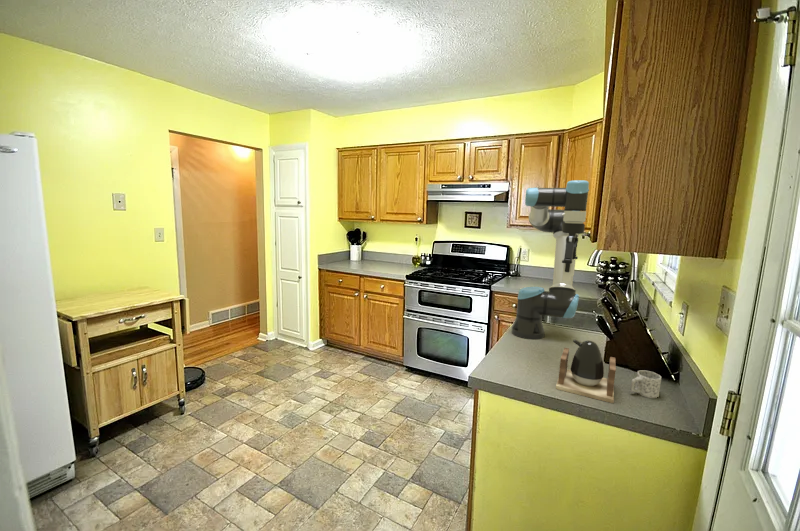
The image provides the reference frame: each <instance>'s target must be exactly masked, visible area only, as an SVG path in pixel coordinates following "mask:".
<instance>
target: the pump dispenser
mask: <svg viewBox="0 0 800 531" xmlns="http://www.w3.org/2000/svg"><path fill="white" fill-rule="evenodd" d="M572 342H573V343H574V344H575V345H577V346H578V348H577V349H576V350H575V353H574V355H573V357H572V361H571V364H570V370H571V372H572V376H573V378H574V379H575V380H576V381H577V382H578V383H580V384H582V385H586V386H594V385H597V384H598V383H599V382H600V381H601V379H602V378H604V376H605V369H604V368H605V365H604V359H603V355H602V353H601V350H600V347H599V345H598V344H597V343H596V342H595V341H593V340H584V341H583V342H580V341H578V340H576V339H573V340H572Z"/></svg>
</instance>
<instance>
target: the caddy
mask: <svg viewBox="0 0 800 531" xmlns="http://www.w3.org/2000/svg"><path fill="white" fill-rule="evenodd" d="M569 355H570V348H568V347H564V348H563V351H562V354H561V356H560V361H559V368H558V369H559V370H558V378H557V381H556V384H555V390H558V391H562V392H567V393H571V394H575V395H578V396H579V395H580V396H583V397H587V398H591V399H594V400H599V401H603V402H606V403H611V404H614V402H615V401H614V400H615V397H614V396H615V395H614V394H615V393H614V392H615V379H616V378H615V377H616V370H617V369H616V365H617V364H616V357H613V356H610V357H609V363H608V370H607V377H603V378H602V379H601V381H600V382H599V383H598V384H597V385H594V386H586V385H582V384H580V383H578V382H577V381H576V380H575V379H574V378H573V376H572V372H571V369H568V365H569V357H570V356H569Z"/></svg>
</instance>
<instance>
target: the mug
mask: <svg viewBox="0 0 800 531" xmlns="http://www.w3.org/2000/svg"><path fill="white" fill-rule="evenodd" d="M661 383H662V376H661V375H660V374H658V373H656V372H654V371H650V370H645V369H644V370H641V369H640V370H637V373H636V377H634V378H632V379H631V380H630V385H629V386H630V387H629V388H630V392H632V393H637V395H640V396H641V397H646V398H649V399H657V397H658V398H659V396H660V389H661Z"/></svg>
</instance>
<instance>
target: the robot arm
mask: <svg viewBox="0 0 800 531" xmlns="http://www.w3.org/2000/svg"><path fill="white" fill-rule="evenodd" d="M589 187H590V182H589V181H588V180H583V179H582V180H579V179H576V180H569V181H567V183H566V186H565V187H528V188H527V189H526V191H525V199H524V202H525V203H524V205H525V206H526V207H530V212H529V213H528V221H529V224H530V225H531V226H532V227H533V228H534V229H536V230H537V231H539V232H543V233H552V236H553V238H554V239H555V249H554V262H553V264H554V265H553V278H552V285H551V286H549V288H548V290H547V291H546V290H545V288H544V287H541V286H526V287H525V286H524V287H522V288H520V289H519V290H518V294H517V304H516V305H517V306H516V315H515V316H516V317H515V319H514V322H513V324H512V327H511V334H513V335H514V336H517V337H519V338H522V339H528V340H540V339H543V338H544V337H545V329H544V326H543V322H542V320H543V319H542V318H543V316H547V317H554V318H555V317H556V318H562V319H572V318H574V317H575V315H576V313H577V309H578V304H579V298H580V295H579V294H578V293H576V290H577V289H575V288H574V286H573V282H574V280H573V279H574V276H575V269H576V268H575V267H576V260H578V256H577V248H578V243H579V236H580V234H584V233H585V228H586V227H585V226H586V225H585V223H586V218H587V207H588V206H587V205H588V204H587V202H588V198H589V196H588V195H589V191H590V189H589ZM550 207H553V208H555V207H558V208H564V209H550Z"/></svg>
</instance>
